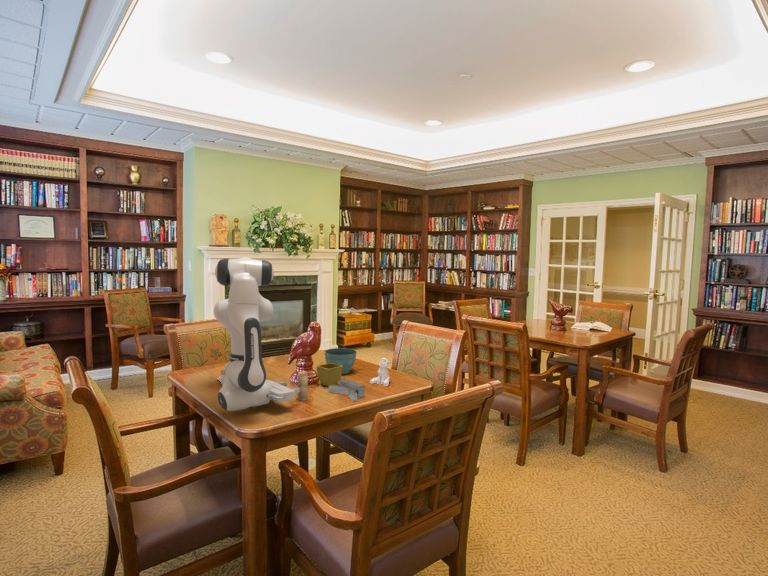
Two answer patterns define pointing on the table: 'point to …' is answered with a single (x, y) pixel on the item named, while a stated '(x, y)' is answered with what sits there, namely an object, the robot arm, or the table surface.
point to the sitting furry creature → (382, 373)
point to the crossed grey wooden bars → (348, 389)
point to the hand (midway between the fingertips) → (292, 387)
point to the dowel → (303, 386)
